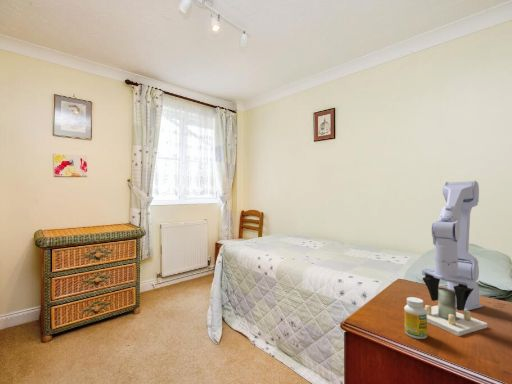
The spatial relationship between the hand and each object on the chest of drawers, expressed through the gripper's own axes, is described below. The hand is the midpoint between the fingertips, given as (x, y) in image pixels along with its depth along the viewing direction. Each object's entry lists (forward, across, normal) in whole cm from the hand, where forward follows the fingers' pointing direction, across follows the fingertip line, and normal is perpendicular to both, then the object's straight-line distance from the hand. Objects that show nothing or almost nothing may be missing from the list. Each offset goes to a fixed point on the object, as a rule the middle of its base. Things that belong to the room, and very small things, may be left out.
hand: (447, 304), depth 80 cm
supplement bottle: (+5, +2, -16) cm, 17 cm away
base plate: (+5, 0, 0) cm, 5 cm away
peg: (+4, 0, 0) cm, 4 cm away
